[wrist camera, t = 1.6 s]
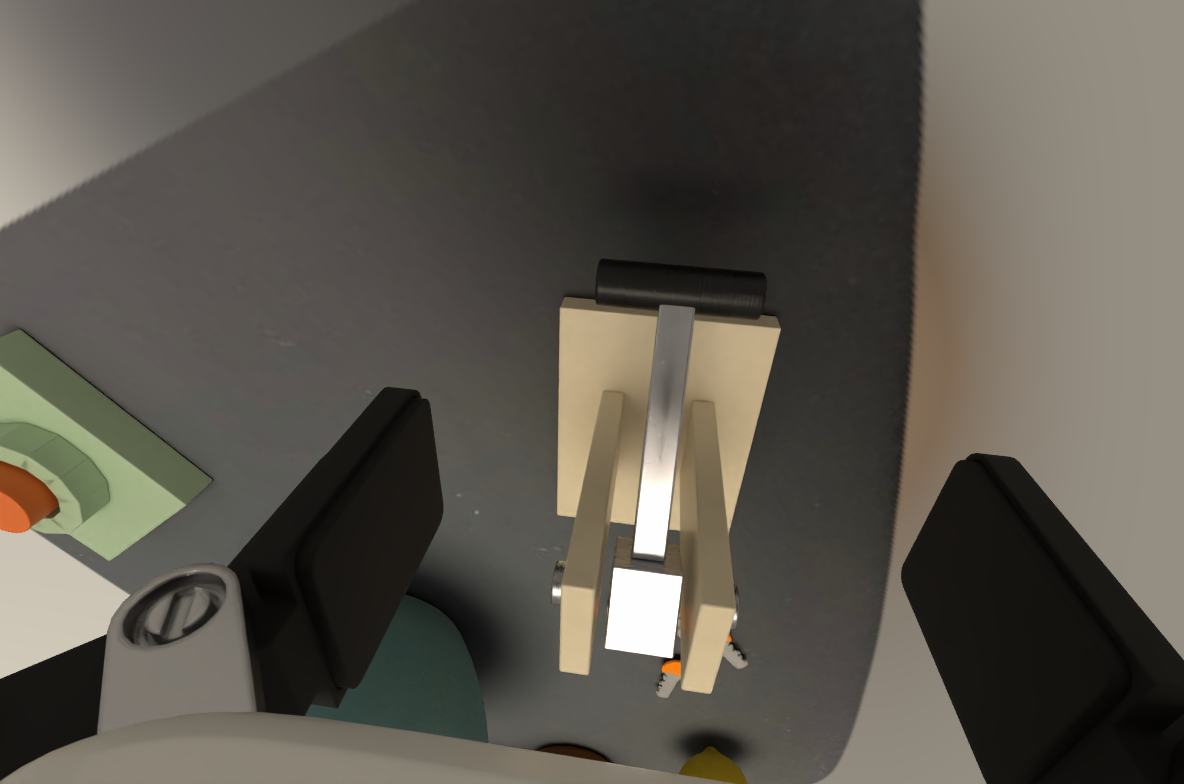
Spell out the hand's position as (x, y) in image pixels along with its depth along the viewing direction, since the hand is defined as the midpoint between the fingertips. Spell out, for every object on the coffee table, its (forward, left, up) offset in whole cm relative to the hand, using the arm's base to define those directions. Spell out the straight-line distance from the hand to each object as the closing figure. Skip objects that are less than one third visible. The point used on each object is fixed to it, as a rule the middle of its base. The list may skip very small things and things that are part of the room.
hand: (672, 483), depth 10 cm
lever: (+4, -3, -7) cm, 9 cm away
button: (-9, -35, -11) cm, 38 cm away
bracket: (+7, -5, -14) cm, 17 cm away
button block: (-9, -35, -14) cm, 39 cm away
